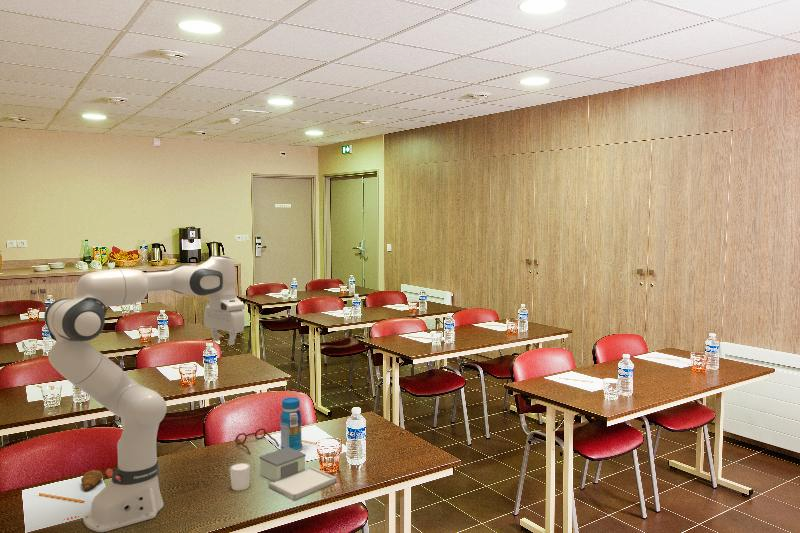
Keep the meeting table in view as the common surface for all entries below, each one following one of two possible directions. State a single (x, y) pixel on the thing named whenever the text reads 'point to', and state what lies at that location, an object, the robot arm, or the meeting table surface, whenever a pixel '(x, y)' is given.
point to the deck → (292, 474)
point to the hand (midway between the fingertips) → (223, 342)
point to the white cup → (240, 476)
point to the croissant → (91, 479)
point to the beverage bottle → (291, 424)
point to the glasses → (255, 437)
